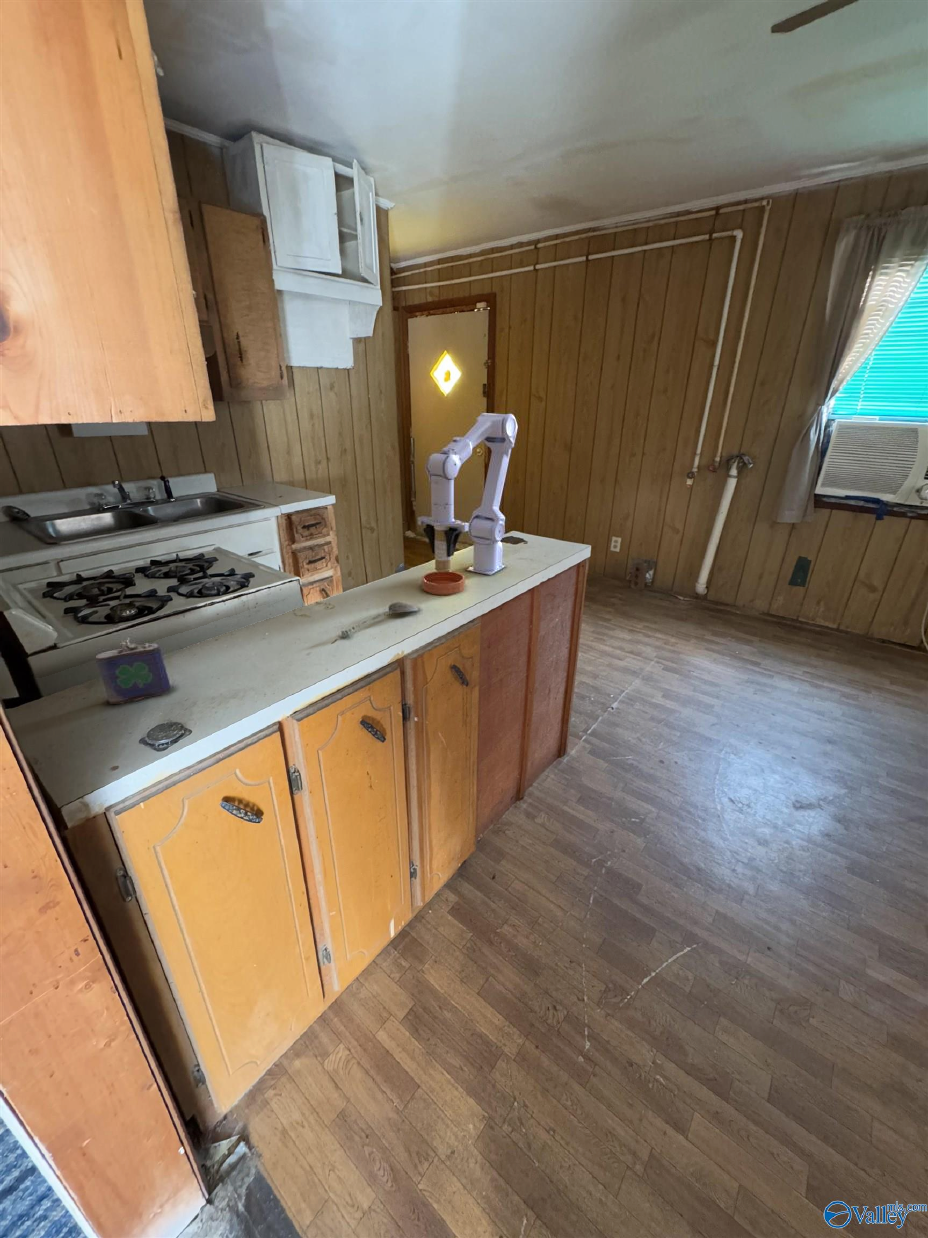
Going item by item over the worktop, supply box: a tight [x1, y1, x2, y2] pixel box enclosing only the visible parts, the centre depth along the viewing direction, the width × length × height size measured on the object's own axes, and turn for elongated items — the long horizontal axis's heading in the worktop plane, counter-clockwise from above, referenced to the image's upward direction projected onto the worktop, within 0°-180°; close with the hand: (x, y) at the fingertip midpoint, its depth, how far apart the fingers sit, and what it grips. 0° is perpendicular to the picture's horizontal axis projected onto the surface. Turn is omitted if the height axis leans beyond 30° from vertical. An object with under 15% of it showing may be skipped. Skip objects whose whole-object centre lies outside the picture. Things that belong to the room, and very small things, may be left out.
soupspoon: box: [340, 601, 419, 638], centre depth 116 cm, size 22×3×7 cm
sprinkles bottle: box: [434, 526, 452, 572], centre depth 133 cm, size 5×5×13 cm
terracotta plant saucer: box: [421, 570, 466, 596], centre depth 137 cm, size 12×12×3 cm
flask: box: [94, 637, 172, 705], centre depth 85 cm, size 9×3×11 cm, turn 117°
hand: (442, 554), depth 134 cm, fingers closed on sprinkles bottle, 4 cm apart
